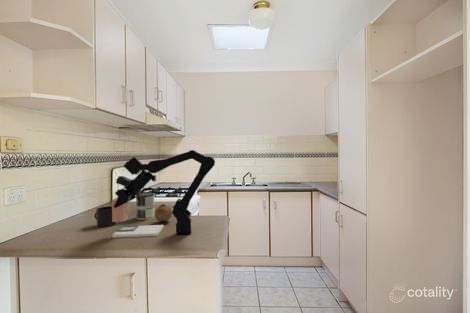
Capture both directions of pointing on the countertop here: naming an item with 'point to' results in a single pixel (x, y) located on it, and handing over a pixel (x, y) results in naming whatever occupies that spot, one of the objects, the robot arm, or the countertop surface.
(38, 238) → the countertop surface
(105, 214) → the mug
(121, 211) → the pillar
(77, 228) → the countertop surface
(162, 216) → the onion
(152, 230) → the build board
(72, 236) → the countertop surface
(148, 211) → the coffee can
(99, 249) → the countertop surface
